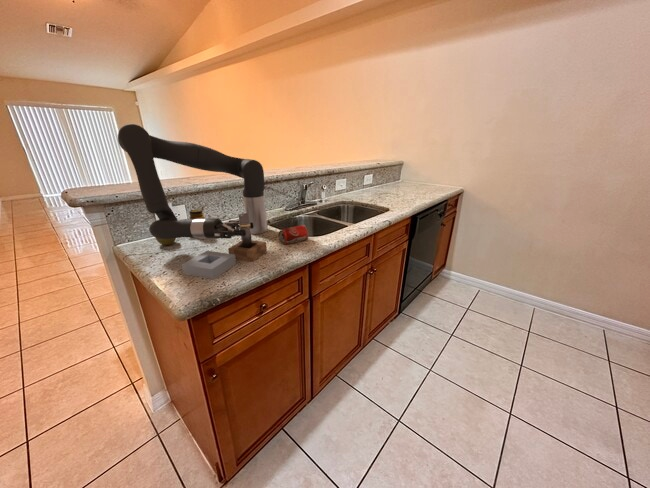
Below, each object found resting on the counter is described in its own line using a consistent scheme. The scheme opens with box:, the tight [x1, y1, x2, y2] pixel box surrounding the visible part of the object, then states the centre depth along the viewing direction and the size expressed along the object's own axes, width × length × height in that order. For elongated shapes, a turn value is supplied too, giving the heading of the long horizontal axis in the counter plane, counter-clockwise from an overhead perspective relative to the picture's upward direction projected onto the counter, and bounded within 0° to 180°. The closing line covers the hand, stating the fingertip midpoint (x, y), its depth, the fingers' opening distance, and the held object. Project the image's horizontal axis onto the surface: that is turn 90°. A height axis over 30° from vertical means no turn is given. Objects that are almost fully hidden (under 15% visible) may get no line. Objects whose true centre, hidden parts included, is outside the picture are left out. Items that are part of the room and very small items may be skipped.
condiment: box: [189, 208, 205, 240], centre depth 119 cm, size 7×8×12 cm
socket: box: [181, 250, 237, 280], centre depth 90 cm, size 12×12×4 cm
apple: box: [154, 237, 177, 246], centre depth 111 cm, size 8×8×7 cm
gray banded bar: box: [238, 212, 253, 249], centre depth 98 cm, size 4×4×16 cm
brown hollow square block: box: [227, 239, 268, 262], centre depth 100 cm, size 10×10×4 cm
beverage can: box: [278, 224, 310, 245], centre depth 113 cm, size 7×12×7 cm, turn 125°
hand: (249, 229), depth 97 cm, fingers open, 8 cm apart
